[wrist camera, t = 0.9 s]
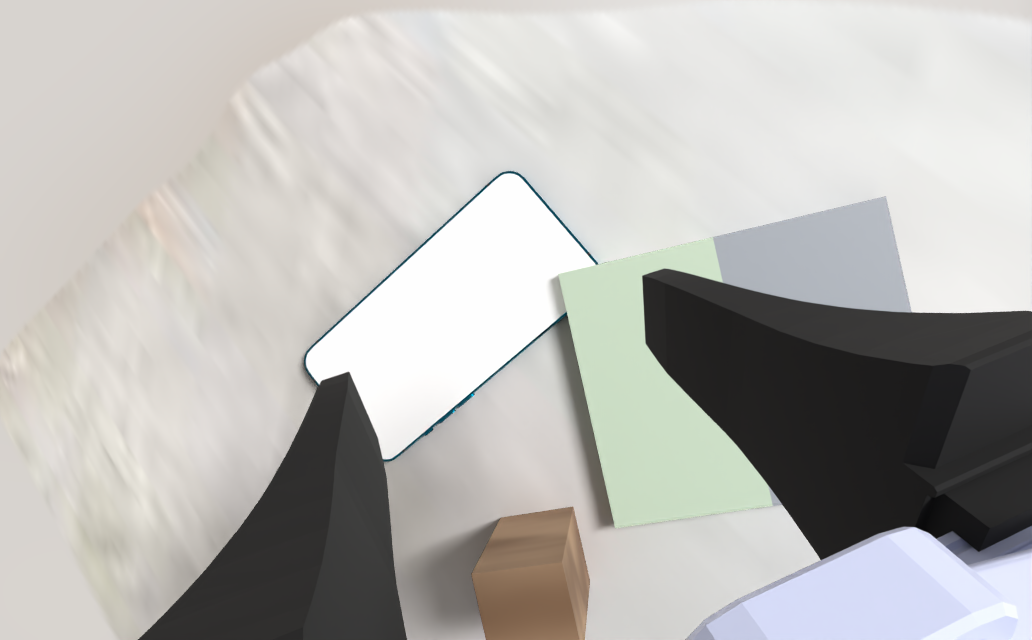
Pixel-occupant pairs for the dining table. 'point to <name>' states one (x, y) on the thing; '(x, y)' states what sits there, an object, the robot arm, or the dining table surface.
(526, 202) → the smartphone
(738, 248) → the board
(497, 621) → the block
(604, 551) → the dining table surface
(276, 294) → the dining table surface
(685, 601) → the dining table surface
